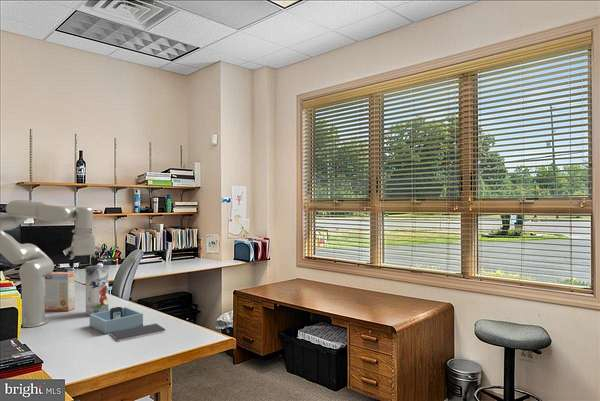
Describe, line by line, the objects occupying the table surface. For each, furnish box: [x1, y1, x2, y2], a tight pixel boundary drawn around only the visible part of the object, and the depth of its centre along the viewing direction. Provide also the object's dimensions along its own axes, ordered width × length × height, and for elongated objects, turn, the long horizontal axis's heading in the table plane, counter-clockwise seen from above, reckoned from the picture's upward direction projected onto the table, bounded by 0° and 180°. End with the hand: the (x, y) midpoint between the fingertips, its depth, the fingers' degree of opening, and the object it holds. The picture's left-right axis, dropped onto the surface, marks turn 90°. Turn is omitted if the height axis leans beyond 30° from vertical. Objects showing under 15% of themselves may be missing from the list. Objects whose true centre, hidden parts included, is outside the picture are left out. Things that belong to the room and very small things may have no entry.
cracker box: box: [44, 271, 76, 312], centre depth 232 cm, size 14×6×21 cm, turn 84°
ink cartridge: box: [109, 306, 123, 320], centre depth 203 cm, size 5×2×8 cm, turn 132°
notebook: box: [109, 323, 166, 342], centre depth 192 cm, size 13×2×21 cm
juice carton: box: [84, 262, 110, 316], centre depth 225 cm, size 9×10×27 cm
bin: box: [89, 306, 144, 336], centre depth 203 cm, size 18×18×6 cm
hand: (82, 266), depth 206 cm, fingers open, 9 cm apart
